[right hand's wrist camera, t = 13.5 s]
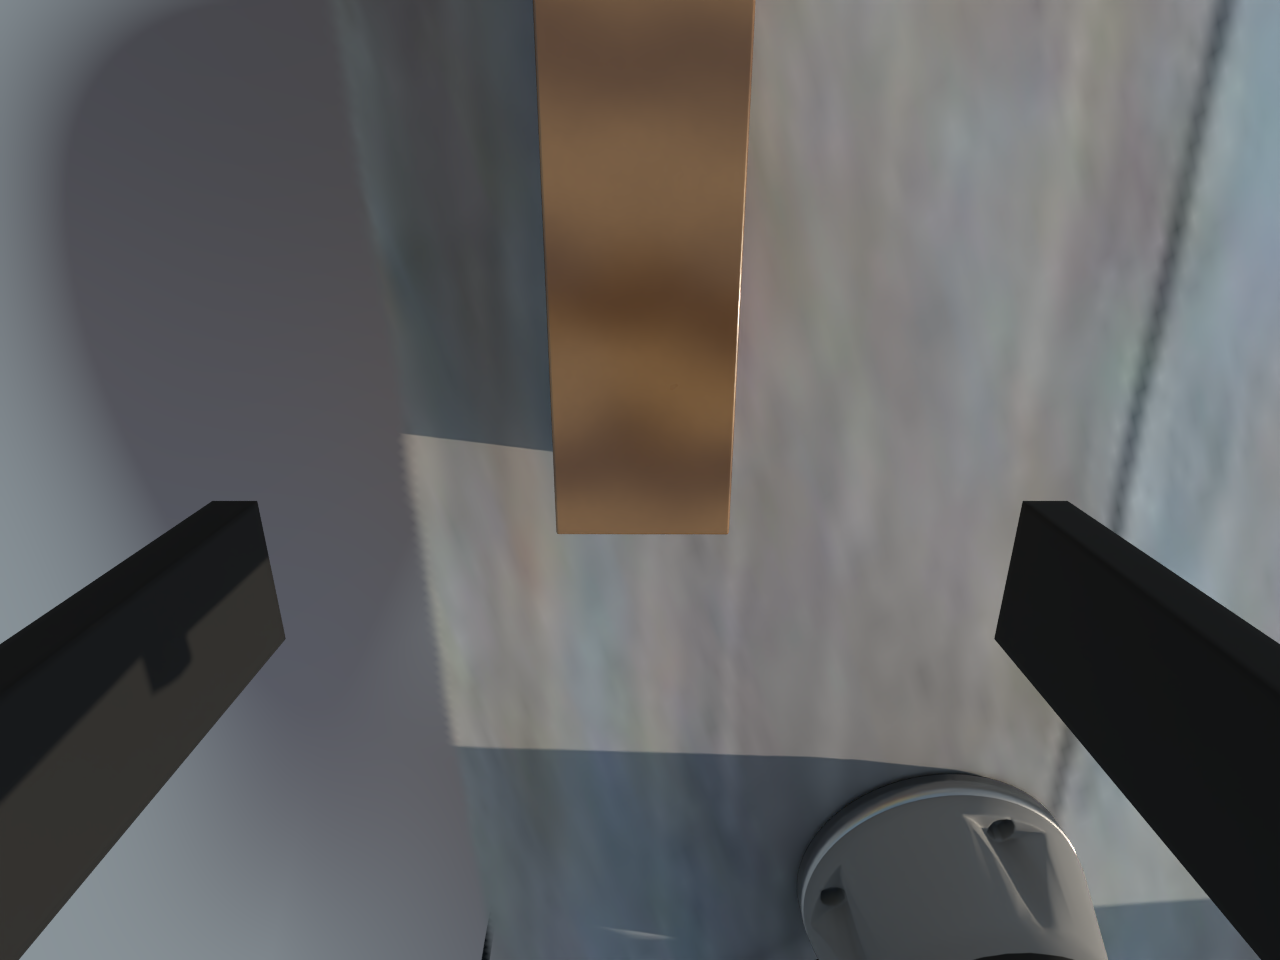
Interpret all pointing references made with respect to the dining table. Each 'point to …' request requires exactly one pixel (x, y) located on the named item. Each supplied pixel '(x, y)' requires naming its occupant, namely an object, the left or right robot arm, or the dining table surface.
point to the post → (643, 255)
